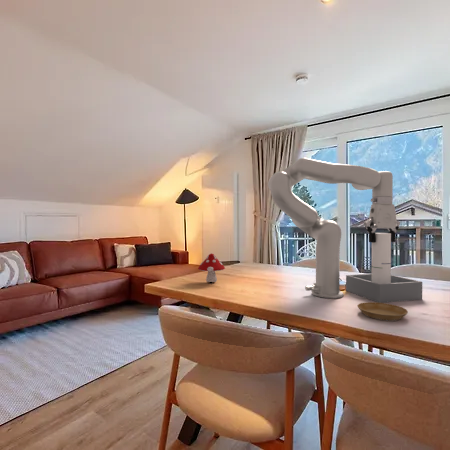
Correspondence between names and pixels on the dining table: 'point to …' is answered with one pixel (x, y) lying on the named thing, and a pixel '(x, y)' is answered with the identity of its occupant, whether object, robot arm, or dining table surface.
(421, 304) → the dining table surface
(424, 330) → the dining table surface
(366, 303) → the plant saucer
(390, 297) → the walled bin
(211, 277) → the decorative mushroom
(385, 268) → the cylindrical container
